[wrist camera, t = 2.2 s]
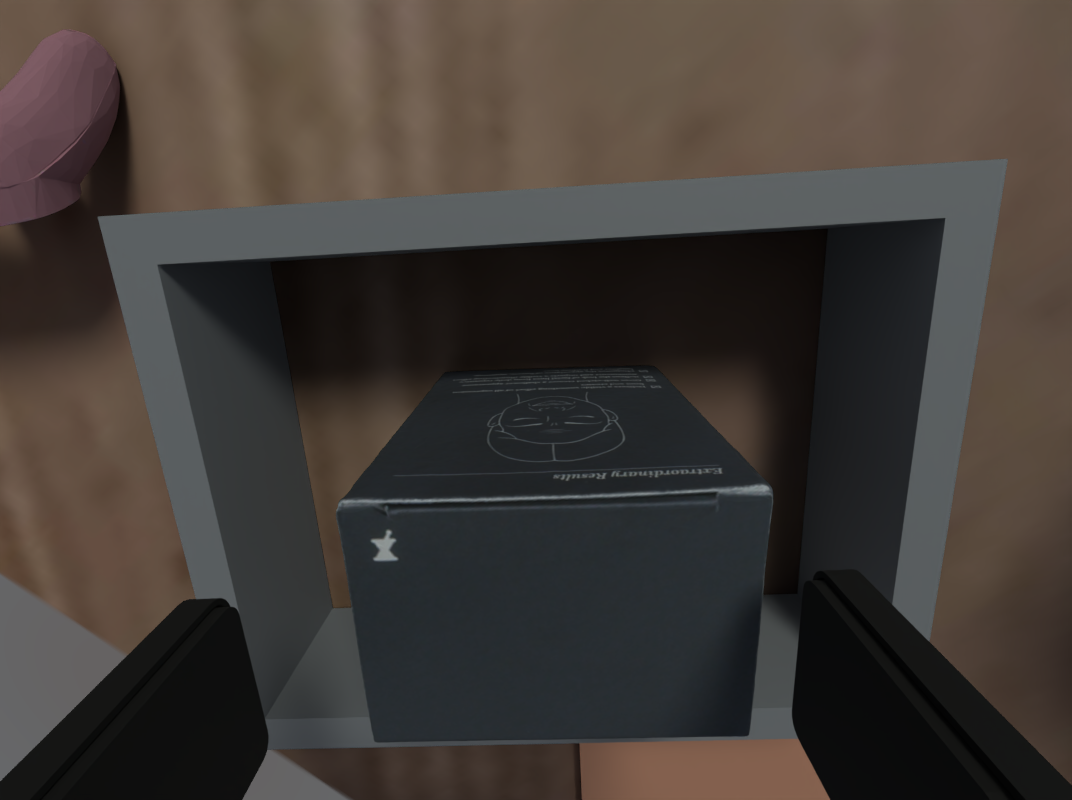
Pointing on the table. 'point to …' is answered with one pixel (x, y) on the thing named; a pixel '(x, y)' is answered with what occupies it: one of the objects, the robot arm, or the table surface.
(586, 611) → the box
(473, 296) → the table surface
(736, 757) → the mat
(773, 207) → the enclosure
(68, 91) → the video game controller
